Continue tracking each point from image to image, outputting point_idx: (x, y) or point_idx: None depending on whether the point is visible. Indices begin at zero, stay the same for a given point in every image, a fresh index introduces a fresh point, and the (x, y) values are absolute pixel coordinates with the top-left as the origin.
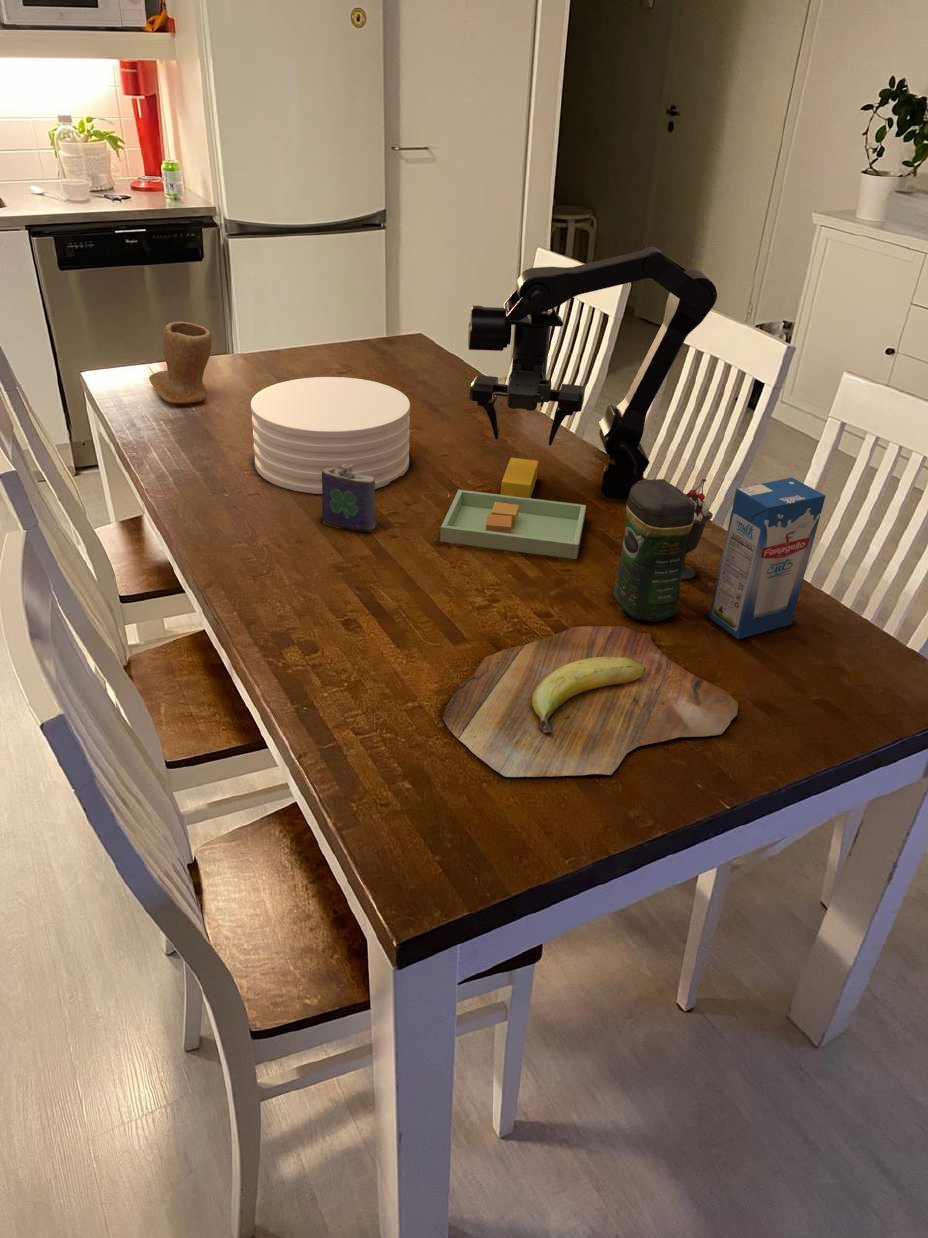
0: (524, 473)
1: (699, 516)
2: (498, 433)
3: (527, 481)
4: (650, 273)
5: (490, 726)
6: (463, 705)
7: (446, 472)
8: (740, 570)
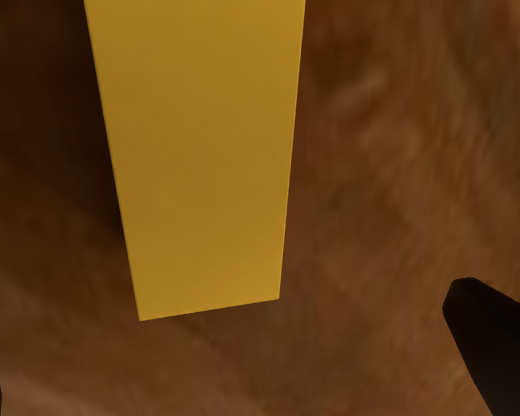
0: (175, 154)
1: None
2: (473, 327)
3: (123, 33)
4: None
5: None
6: None
7: (488, 188)
8: None
